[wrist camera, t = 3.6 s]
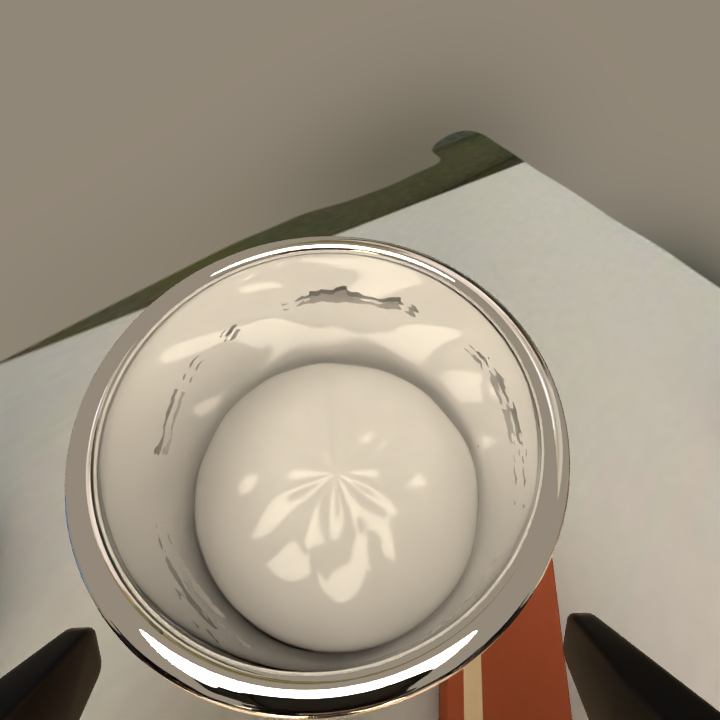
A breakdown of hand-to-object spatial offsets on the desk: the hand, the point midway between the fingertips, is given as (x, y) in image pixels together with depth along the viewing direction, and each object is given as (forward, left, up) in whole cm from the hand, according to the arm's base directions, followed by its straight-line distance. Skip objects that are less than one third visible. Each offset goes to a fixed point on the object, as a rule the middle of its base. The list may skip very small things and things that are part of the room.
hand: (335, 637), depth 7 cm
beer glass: (+2, -2, -11) cm, 11 cm away
